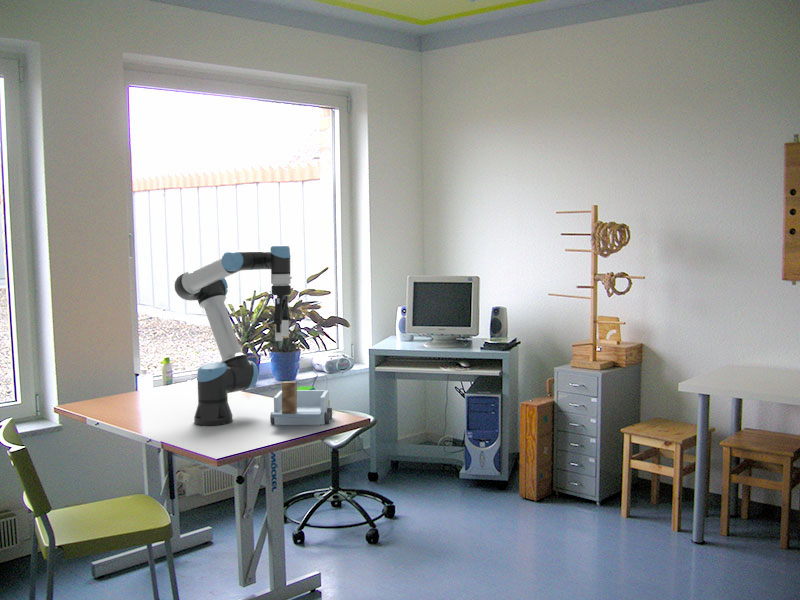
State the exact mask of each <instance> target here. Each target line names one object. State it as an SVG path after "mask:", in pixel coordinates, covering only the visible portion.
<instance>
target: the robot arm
mask: <svg viewBox="0 0 800 600" xmlns="http://www.w3.org/2000/svg"><path fill="white" fill-rule="evenodd" d="M252 270H254V271H255V270H270V271H271V272H270V281H271V295H272V296H276V298H274V313H273V315H274V316H273V321H272V324H273V325H274V335H275V336H274V341H275V342H283V337H290V334H289V333H290V332H289V331H290V325H289V323H290V321H291V316H290V310H289V301H288V300H289V299H288V298H289V297H288V296H289V295H291V294H292V289H291V288H292V286H291V285H290V284H291V282H292V281H291V279H293V276H292V275H291V251H290V246H289V245H284V244H283V245H271V246H270V250H266V249H265V250H264V249H263V250H262V249H257V250H231V251H226V252H224V254H222V256H221V257H220V258H219V259H217V260H215V261H213V262H210V263H208V264H206V265H204V266H202V267H200V268H198V269H196V270H194V271H190V270H188V271H186V272H184V273H181V274H180V275H179V276H177V278H176V279H175V281H174V292H175V293H176V294H177V296H179V297H180V298H181V299H182V300H184V301H185V300H186V301H189V302H190V301H197V302H198V305H199V307H200V308H203V309H204V311H205V314H206V317H207V319H208V322H209V325H210V329H211V332H212V334H213V337H214V339H215V344H216V346H217V348H218V349H217V350H218V352H219V355H220V357H221V361H220V362H219V361H218V362H210V363H205V364H203V365H201V366H199V368H198V370H197V376H196V377H197V378H196V379H197V380H196V381H197V401H198V402H197V406H196V410H195V414H194V417H193V419H194V424H196V425H198V426H206V427H209V426H210V427H211V426H213V427H214V426H220V425H221V426H222V425H226V424H228V423H229V424H230V423H231V422H233V420H234V419H233V413H232V410H231V407H230V404H229V402H228V401H229V400H228V394H230V393H235V392H241V391H246V390H249V389H251V388H253V387H255V386H256V385H257V382H258V379H259V368H258V366H257V364H256V363H255V362H254V361H252V360H249V358H248V355H247V354H245V353H243V352H242V349H241V346H240V343H239V341H238V339H237V336H236V333H235V330H234V328H233V327H234V326H233V324H232V322H231V318H230V316H229V312H228V310H227V308H226V305H225V302H226V299H227V293H228V287H229V286H228V283H227V280H226V278H227V277H229V276H231V275H234V274H236V273H238V272H242V271H252Z"/></svg>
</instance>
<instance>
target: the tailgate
mask: <svg viewBox="0 0 800 600" xmlns="http://www.w3.org/2000/svg"><path fill="white" fill-rule="evenodd" d="M273 412H274V411H273ZM270 415H271V417H289V418H304V417H321V416H322V415H323V411H317V412H296V413H295V414H282V412H274V413H272V414H271V413H270Z"/></svg>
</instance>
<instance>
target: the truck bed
mask: <svg viewBox="0 0 800 600" xmlns="http://www.w3.org/2000/svg"><path fill="white" fill-rule="evenodd" d="M329 401H330V399H329V390H328V389H315V390H297V412H317V411H323V415H322V416H321V417H304V418H289V417H271V414H272V413H274V412H282V389H281V390H279V391H278V392H277V394H276V395H275V396H273V412H270V417H269V420H270V421H269V422H270V424H274V426H282V425H283V426H296V425H297V426H306V425H307V426H317V425H318V426H321V425H320V424H324V425H325V424H330V423H329V422H331V419H333V407H330V404H329Z"/></svg>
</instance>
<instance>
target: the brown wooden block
mask: <svg viewBox="0 0 800 600" xmlns="http://www.w3.org/2000/svg"><path fill="white" fill-rule="evenodd" d="M297 386H298V381H282V382H281V390H282V414H295V413H296V412H297V388H298V387H297Z"/></svg>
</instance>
